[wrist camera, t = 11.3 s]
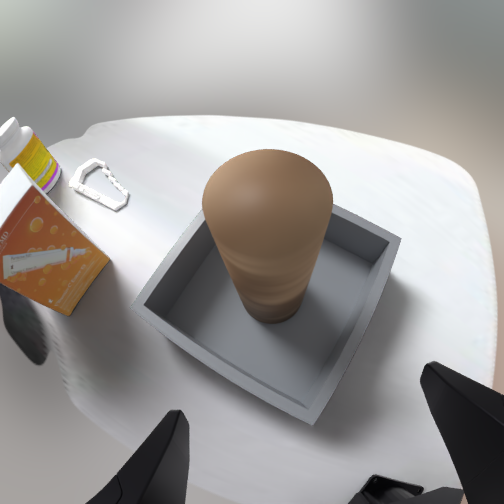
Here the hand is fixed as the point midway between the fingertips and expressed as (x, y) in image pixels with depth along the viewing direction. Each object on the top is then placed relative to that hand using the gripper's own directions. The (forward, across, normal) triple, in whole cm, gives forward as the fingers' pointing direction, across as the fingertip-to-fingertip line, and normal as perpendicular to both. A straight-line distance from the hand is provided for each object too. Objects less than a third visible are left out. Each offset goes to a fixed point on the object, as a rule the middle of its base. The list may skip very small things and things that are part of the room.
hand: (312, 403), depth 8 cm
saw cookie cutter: (+27, +20, -8) cm, 34 cm away
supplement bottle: (+30, +32, -11) cm, 45 cm away
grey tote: (+14, 0, +3) cm, 15 cm away
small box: (+18, +21, 0) cm, 27 cm away
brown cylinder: (+14, 0, +3) cm, 14 cm away
